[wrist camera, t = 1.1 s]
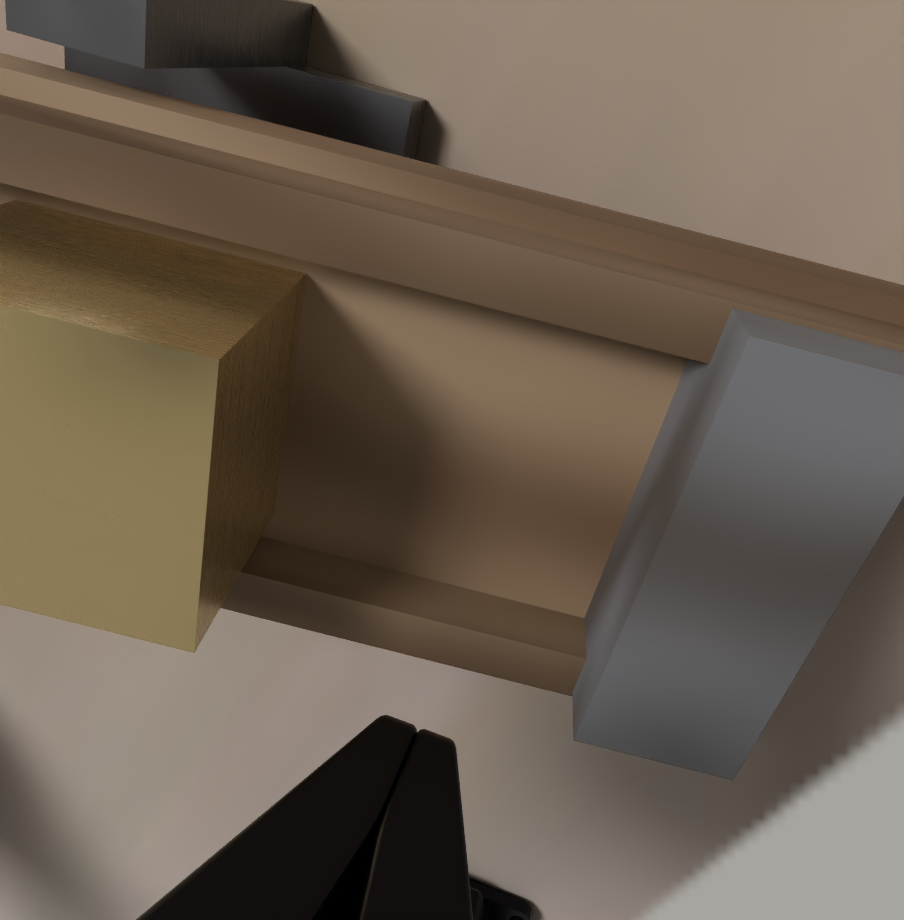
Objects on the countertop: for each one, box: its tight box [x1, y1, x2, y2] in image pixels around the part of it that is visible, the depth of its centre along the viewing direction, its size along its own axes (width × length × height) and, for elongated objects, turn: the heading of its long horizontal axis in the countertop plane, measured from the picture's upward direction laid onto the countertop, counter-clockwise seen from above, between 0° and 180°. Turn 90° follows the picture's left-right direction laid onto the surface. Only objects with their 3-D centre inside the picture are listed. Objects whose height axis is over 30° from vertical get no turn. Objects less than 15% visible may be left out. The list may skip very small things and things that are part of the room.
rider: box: [0, 199, 306, 653], centre depth 13 cm, size 5×5×4 cm
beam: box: [0, 53, 904, 780], centre depth 14 cm, size 9×28×4 cm, turn 78°
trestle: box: [5, 0, 426, 160], centre depth 17 cm, size 12×8×6 cm, turn 168°
